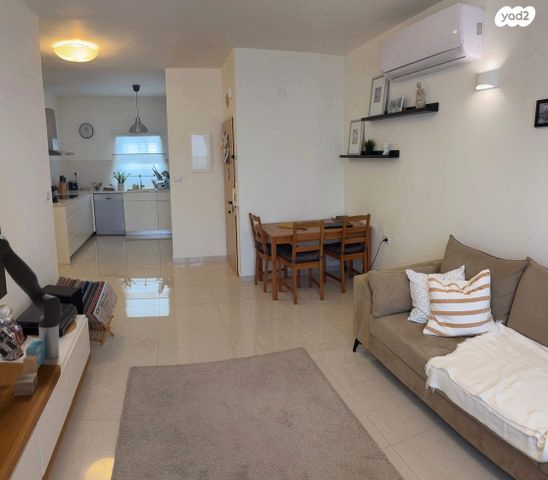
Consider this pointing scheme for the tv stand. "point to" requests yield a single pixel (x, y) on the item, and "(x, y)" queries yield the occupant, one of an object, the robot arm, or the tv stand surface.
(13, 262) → the robot arm
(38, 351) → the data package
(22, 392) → the grey brown block
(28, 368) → the terracotta block
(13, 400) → the tv stand surface
